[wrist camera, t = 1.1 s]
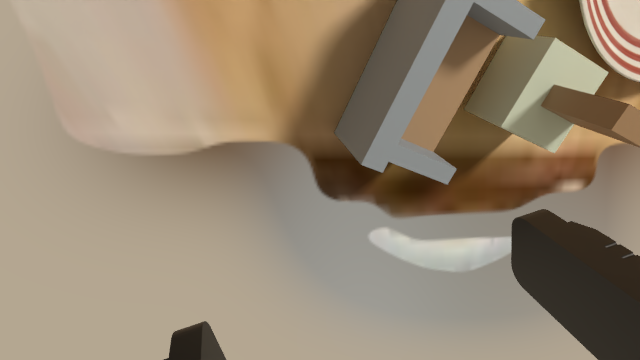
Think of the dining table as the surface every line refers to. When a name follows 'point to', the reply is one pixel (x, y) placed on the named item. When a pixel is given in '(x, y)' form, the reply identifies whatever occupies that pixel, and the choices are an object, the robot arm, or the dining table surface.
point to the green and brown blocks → (549, 94)
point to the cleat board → (424, 79)
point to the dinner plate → (615, 33)
